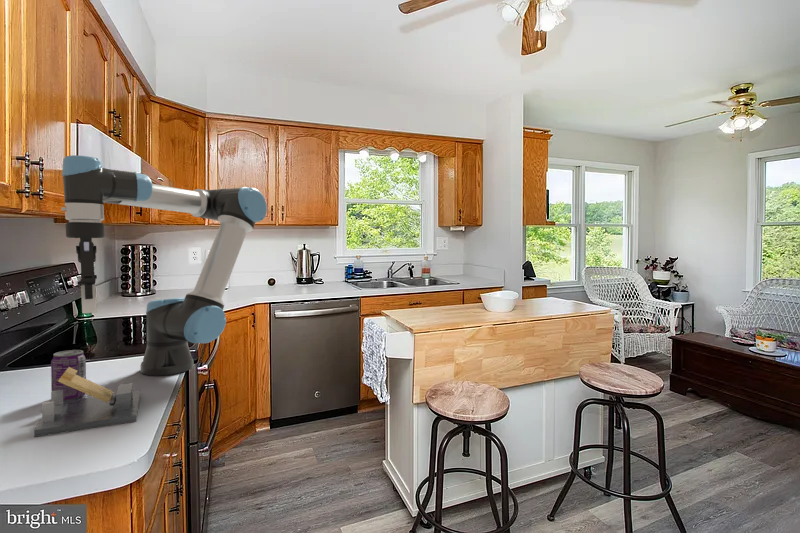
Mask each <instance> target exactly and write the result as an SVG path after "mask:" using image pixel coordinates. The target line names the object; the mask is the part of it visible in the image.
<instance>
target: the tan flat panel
mask: <svg viewBox="0 0 800 533" xmlns="http://www.w3.org/2000/svg"><path fill="white" fill-rule="evenodd" d="M76 373H77V370H75V369H73V368H70V367H69V368H68V369H67V370H66V371H65V372H64V374H63V375H62V376H61V378H60V379H59V380H58V382H60V383H63V384H65V385H67V386H70V387H72V388H74V389H77V390H79V391H81V392H83V393H86V394H85V395H88V396H89V397H95V398H97V399H100V400H102V401H104V402H107V403H108V402H109V401H110V403H109V405H110V406H113V405H115V403H116V393H117V391H114V390H111V389H109V388H107V387H104V386H102V385H100V384H98V383H96V382H93V381H91V380H88V379H87V378H86V379H85V378H82V377H80V376H78V375H76ZM110 399H111V400H110Z"/></svg>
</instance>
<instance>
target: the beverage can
mask: <svg viewBox="0 0 800 533" xmlns="http://www.w3.org/2000/svg"><path fill="white" fill-rule="evenodd" d="M86 359H87V358H86V356H85V354H84V350H81V349H72V350H71V349H70V350H62V351H58V352H55V353H53V358H52V359H51V361H50V371H51V372H50V374H51V375H50V376H51V377H50V380H51V383H50V384H51V388H50V389H51V390H50V393H51V392H52V391H54V390H62V389H63V401H64V400H72V399H80V398H82V397H83V396H85V395H87V394H86V393H83V392H81V391H79V390H77V389H74V388H72V387H70V386H67V385H65V384H63V383H60V382H58V380H59V379H60V378H61V376H62V375H63V374H64V372H65V371H66V370H67V369H68V368H69V367H70V368H73V369H75V370H77V373H76V375H78V376H80V377H82V378H85V379H87V367H86V366H87V364H86V363H87V362H86Z"/></svg>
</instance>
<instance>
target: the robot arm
mask: <svg viewBox="0 0 800 533" xmlns="http://www.w3.org/2000/svg"><path fill="white" fill-rule="evenodd" d="M61 176H62V181H63V182H62V183H63V197H64V206H61V209H60V210H61V212H65V213H64V216H65V217H64V218H65V220H67V221H68V222H66V223H65V237H66V238H68V239H79V242H78V245H76V246H75V253H76V255H77V261H78V263H80V281H79V280H78V281H77V286H80V295H81V297H80V298H81V312H82V314H92V313H93V314H95V313H97V312H98V311H97V310H98V309H97V308H98V307H97V288H96V281H97V279H98V278H97V277H98V276H97V274H95V262H96V261H97V256H96V254H97V245H95V244H94V241H93V240H92V239H103V238H104V237H105V236H106V235H105V224H104V223H103V222H102V221H104V220H105V212H104V210H105V208H104V203H105V204H113V205H122V206H132V207H137V208H147V209H153V210H155V209H156V210H160V211H161V210H162V211H170V212H179V213H184V214H185V213H186V214H190V215H191V216H193V217H194V218H202V219H207V220H213V221H218V222H219V224H220V225H219V228H218V230H217V233H216V235H215V237H214V240H213V242H212V245H211V247H210V250H209V252H208V254H207V258H206V259H205V261H204V265H203V267H202V269H201V272H200V274H199V277H198V279H197V281H196V283H195V287H194V289H193V290H192V291H190V292H188V293H186V294H185V297H175V298H165V299H157V300H150V301H148V303H147V304H146V310H145V315H146V348H145V351H144V355H143V360H142V361H141V363H140V369H139V370H140V373H141V374H142V375H146V376H153V377H155V376H157V377H159V376H169V375H170V376H171V375H175V374H176V375H178V374H181V373H185V372H187V371H190V370H192V369H193V368H194V362H195V361H194V358H193V356H192V355H191V350H190V347H189V343H192V344H209V343H211V342H213V341H215V340H217V338H219V337H220V336H221V334H222V333H223V332H224V330H225V328H226V326H227V325H226V324H227V318H226V313H225V311H224V308H225V303H224V301H223V296H224V294H225V291H226V289H227V285H228V283H229V280H230V277H231V275H232V274H233V270H234V267H235V264H236V262H237V259H238V257H239V254H240V251H241V249H242V247H243V246H242V245H243V243H244V241H245V238H246V236H247V234H249V233H252V232H253V230H254V228H255V225H256V223H259V222H261V221H263V220H264V219H265V218H266V216H267V212H268V204H267V202H266V198H265V196H264V194H263V193H262V192H261V191H260V190H259V189H257V188H255V187H247V186H243V187H236V188H219V189H218V188H217V189H201V188H196V189H193V190H190V189H183V188H179V187H172V186H167V185H161V184H156V183H153V182H152V180H151V178H150V177H149V176H148V175H147V174H144V173H139V172H137V171H134V172H133V171H127V170H125V171H124V170H118V169H110V168H105V167H103V164H102V161H101V159H99V157H93V156H89V155H75V154H74V155H66V156H65V157H64V158H63V160H62V173H61ZM188 342H189V343H188Z"/></svg>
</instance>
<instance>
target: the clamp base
mask: <svg viewBox="0 0 800 533" xmlns="http://www.w3.org/2000/svg"><path fill="white" fill-rule="evenodd" d="M133 386H134V384H133V382H129V383H122V384H119V385H118V386H117V391H116V392H117V393H116V403H115V405H113V406H110V405H109V403H110V401H109V402H108V403H107V402H104V401H102V400H100V399H97V398H95V397H93V396H89V397H88V396H87V397H80V398H78V399H72V400H64V401H63V389H62V390H54V391H52V392H51V391H50V400H51V401H43V402H42V404H41V410H42V411H41V417H42V418H41V420H40V421H39V423H38V424H37V425H36V426H35V428H34V430H33V437H34V438H39V437H46V436H53V435H58V434H64V433H70V432H77V431H84V430H89V429H95V428H103V427H108V426H109V427H110V426H115V425H121V424H123V425H124V424H128V423H134V422H137V420H138V419H137V418H138V414H139V413H138V412H139V405H140V400H141V390H137V391H133V389H134V388H133ZM110 400H111V399H110Z"/></svg>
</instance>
